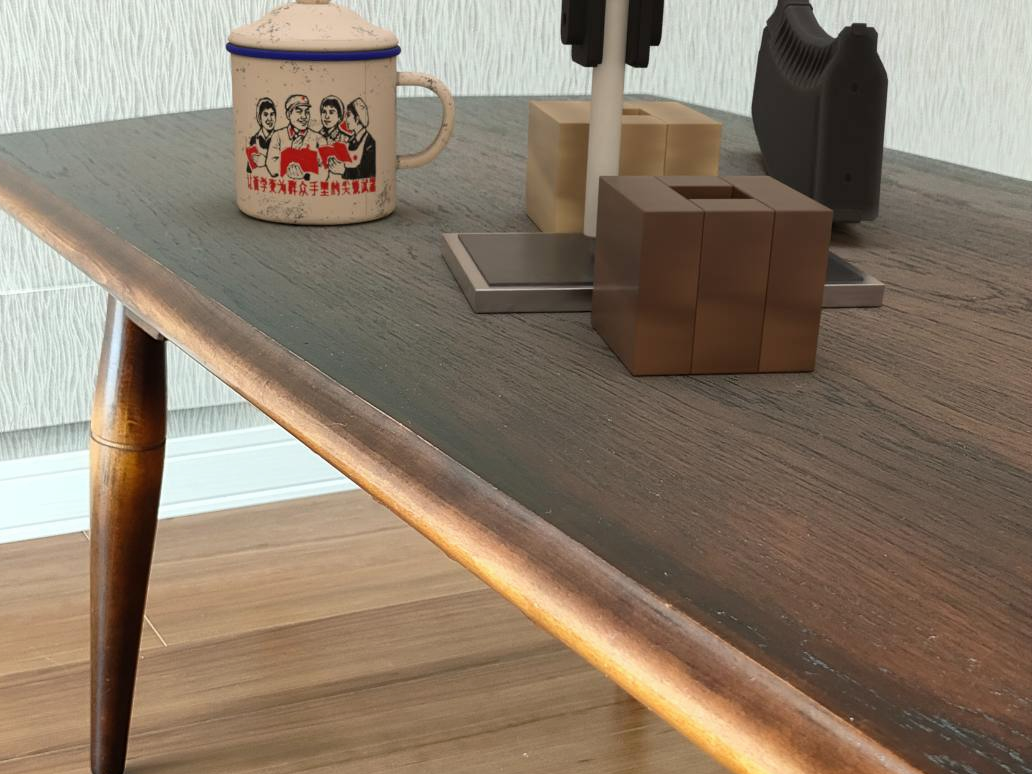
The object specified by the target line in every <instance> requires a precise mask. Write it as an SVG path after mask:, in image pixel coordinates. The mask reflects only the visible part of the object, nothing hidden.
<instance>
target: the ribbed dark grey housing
mask: <svg viewBox="0 0 1032 774" xmlns="http://www.w3.org/2000/svg"><path fill="white" fill-rule="evenodd" d="M765 21H766V22H765V23H766V25H765V26H764V27H763V29H762V35H761V40H760V46H759V50H758V53H757V60H756V68H755V75H754V82H753V83H754V84H753V90H752V99H751V104H750V105H751V106H750V111H751V113H750V114H751V119H752V125H753V129H754V134H755V136H756V140H757V143H758V147H759V150H760V153H761V156H762V159H763V162H764V165H765V169H766V171H767V174H768V176H770V177H772V178H773V179H775V180H777V181H779V182H781V183H783V184H785V185H787V186H788V187H790V188H792V189H794V190H796V191H798V192H800V193H801V194H803V195H805V196H807V197H809V198H811V199H813V200H814V201H816V202H818V203H820V204H822V205H824V206H826V207H828V208H829V209H831V210H833V219H832V223H833V224H834V223H835V224H836V223H838V224H860V223H861V222H862V221H864V222H865V221H867V222H873V221H876V219H877V218H878V217H879V212H880V211H879V210H880V198H881V187H882V184H881V183H882V182H881V181H882V172H883V171H882V170H883V157H884V145H885V144H884V143H885V131H886V118H887V117H886V116H887V103H888V91H889V77H888V73H887V70H886V68H885V66H884V64H883V62H882V59H881V57H880V55H879V52H878V43H879V42H878V41H879V40H878V39H879V33H878V32H877V30H876V29H875V27H874V26H868V23H867V22H852V23H851V25H845V26H844V27H843V28H842V29H841V30H840V32H839V33H838V34H837V36H836V37H833V36H832V35H830V34H829V33H828V32H827V31H825V29H824V28H823V27H822V26H821V25H820V23H819V21H818V19H817V17H816V16H815V14H814V7H813V5H812V4H811V3H810V0H777V2H776V6H775V8H774V11H773V12H772V13H771V14H770V15H769V17H768V18H767V19H766V20H765Z"/></svg>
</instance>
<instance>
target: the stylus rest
mask: <svg viewBox="0 0 1032 774" xmlns="http://www.w3.org/2000/svg"><path fill="white" fill-rule="evenodd" d="M832 219H833V210H831V209H829V208H828V207H826V206H824V205H822V204H820V203H818V202H816V201H814V200H813V199H811V198H809V197H807V196H805V195H803V194H801V193H800V192H798V191H796V190H794V189H792V188H790V187H788V186H787V185H785V184H783V183H781V182H779V181H777V180H775V179H773V178H772V177H770V176H769V175H718V176H600V177H599V189H598V207H597V225H596V242H595V260H594V278H593V296H592V311H591V317H590V318H591V319H590V325H591V326H592V327H593V328H594V329H595V331H596V332H597V334H599V336H600V337H601V338H602V340H604V342H605V343H606V344H607V345H608V347H609V348H610V349H611V351H613V353H614V354H615V356H616V357H617V358H618V359H619V360H620V361H621V363H622V364H623V365H624V366H625V367H626V369H627V370H628V371H629V373H631V375H632V376H671V375H672V376H673V375H690V374H691V375H707V374H709V375H710V374H711V375H712V374H716V375H717V374H753V373H754V374H755V373H791V372H792V373H793V372H794V373H795V372H797V373H798V372H814V371H815V367H816V366H815V365H816V359H817V358H816V357H817V350H818V343H819V342H818V341H819V333H820V325H821V316H822V310H823V307H822V301H823V293H824V285H825V277H826V269H827V260H828V252H829V251H830V242H831V236H832V235H831V234H832V228H833V222H832Z"/></svg>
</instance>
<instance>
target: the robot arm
mask: <svg viewBox="0 0 1032 774" xmlns="http://www.w3.org/2000/svg"><path fill="white" fill-rule="evenodd" d="M560 7H561V9H560V29H559V30H560V33H559V34H560V41H561V44H562V45H564V46H571V47H570V48H571V49H570V53H571V54H570V55H571V62H573V63H575V64H577V65H579V66H581V67H583V68H593V67H597V66H598V64H602V60H603V45H604V28H605V11H606V0H561V6H560ZM664 12H665V0H629V11H628V27H627V42H626V58H625V65H627V66H629V67H632V68H634V69H647V68H648V67H649V64H650V57H651V56H650V55H651V47H659V46H661V45H660V44H661V42H662V38H663V37H662V36H663V28H664V27H663V25H664V24H663V23H664Z"/></svg>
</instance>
